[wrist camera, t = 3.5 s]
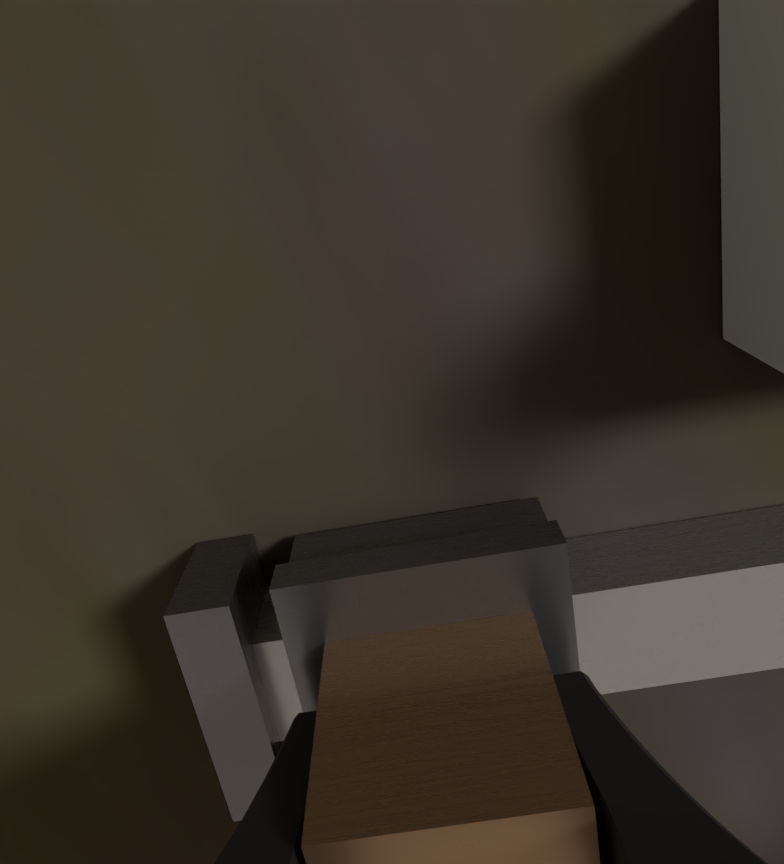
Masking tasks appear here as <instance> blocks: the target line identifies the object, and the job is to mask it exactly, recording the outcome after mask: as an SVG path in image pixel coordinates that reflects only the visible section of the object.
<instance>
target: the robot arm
mask: <svg viewBox="0 0 784 864" xmlns="http://www.w3.org/2000/svg"><path fill="white" fill-rule="evenodd" d="M553 678H554V681H555V684H556V687H557V690H558V693H559V696H560V699H561V703H562V706H563V709H564V712H565V715H566V718H567V721H568V724H569V728H570V731H571V734H572V737H573V740H574V743H575V746H576V749H577V753H578V756H579V759H580V762H581V765H582V768H583V771H584V774H585V778H586V781H587V784H588V787H589V790H590V793H591V796H592V799H593V803H594V806H595V815H596V825H597V835H598V845H599V855H600V864H768V863H766V862H765V861H764V860H763V859H761V858H760V857H759V856H758V855H756V854H755V853H754V852H753V851H751V850H750V849H749V848H748V847H747V846H746V845H744V844H743V843H742V842H741V841H740V840H739V839H737V838H736V837H735V836H734V835H733V834H732V833H730V832H729V831H728V830H727V829H726V828H725V827H724V826H722V825H721V824H720V823H719V822H718V821H717V820H716V819H715V818H714V817H713V816H711V815H710V814H709V813H708V812H707V811H706V810H705V809H704V808H703V807H702V806H701V805H700V804H699V803H698V802H697V801H696V800H695V799H694V798H693V797H692V796H691V795H690V794H689V793H687V792H686V791H685V790H684V789H683V788H682V787H681V786H680V785H679V784H678V783H677V782H676V781H675V780H674V779H673V778H672V776H671V775H670V774H669V773H668V772H667V771H666V770H665V769H664V768H663V767H662V766H661V765H660V764H659V763H658V762H657V761H656V759H655V758H654V757H653V756H652V755H651V754H650V753H649V752H648V751H647V750H646V748H645V747H644V746H643V745H642V744H641V743H640V742H639V741H638V740H637V739H636V737H635V736H634V735H633V734H632V733H631V732H630V730H629V729H628V728H627V727H626V726H625V724H624V723H623V722H622V721H621V720H620V718H619V717H618V716H617V715H616V713H615V712H614V711H613V710H612V708H611V707H610V706H609V705H608V703H607V702H606V701H605V699H604V698H603V697H602V695H601V694H600V693H599V691H598V690H597V688H596V687H595V686H594V684H593V683H592V681H591V680H590V678H589V677H588V675H586V674H585V673H583V672H582V671H577V672H570V673H564V674H557V675H553ZM316 713H317V710H315V711H309V712H302V713H298V714H297V716H296V717H295V718H294V720H293V722H292V724H291V726H290V728H289V730H288V733H287V735H286V737H285V739H284V741H283V743H282V745H281V747H280V749H279V751H278V753H277V755H276V757H275V759H274V761H273V763H272V765H271V767H270V769H269V771H268V773H267V775H266V777H265V779H264V781H263V782H262V784H261V786H260V788H259V790H258V791H257V793H256V795H255V797H254V799H253V800H252V802H251V804H250V806H249V808H248V810H247V811H246V813H245V815H244V817H243V818H242V820H241V822H240V824H239V825H238V827H237V829H236V830H235V832H234V833H233V835H232V837H231V838H230V840H229V841H228V843H227V845H226V846H225V848H224V849H223V851H222V853H221V854H220V856H219V857H218V859H217V861H216V862H215V864H306V862H305V858H304V855H303V852H302V848H301V842H302V834H303V825H304V817H305V808H306V799H307V791H308V782H309V774H310V765H311V756H312V748H313V739H314V731H315V722H316Z"/></svg>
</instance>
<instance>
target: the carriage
mask: <svg viewBox="0 0 784 864" xmlns="http://www.w3.org/2000/svg"><path fill="white" fill-rule="evenodd" d="M269 592H270V595H271V599H272V602H273V606H274V610H275V613H276V617H277V621H278V624H279V628H280V631H281V635H282V639H283V642H284V646H285V650H286V653H287V657H288V660H289V664H290V668H291V671H292V675H293V679H294V682H295V686H296V689H297V693H298V697H299V700H300V704H301V708H302V711H303V712H309V711H315V710H317V713H316V722H315V731H314V739H313V748H312V756H311V765H310V774H309V782H308V791H307V799H306V808H305V817H304V825H303V834H302V842H301V848H302V852H303V855H304V858H305V862H306V864H600V855H599V845H598V835H597V825H596V815H595V806H594V803H593V799H592V796H591V793H590V790H589V787H588V784H587V781H586V778H585V774H584V771H583V768H582V765H581V762H580V759H579V756H578V753H577V749H576V746H575V743H574V740H573V737H572V734H571V731H570V728H569V724H568V721H567V718H566V715H565V712H564V709H563V706H562V703H561V699H560V696H559V693H558V690H557V687H556V684H555V681H554V678H553V675H557V674H564V673H570V672H577V671H580V667H579V657H578V647H577V638H576V628H575V618H574V608H573V598H572V589H571V579H570V569H569V559H568V549H567V542H566V540H565V538H564V536H563V534H562V531H561V529H560V527H559V525H558V523H557V521H556V520H554V521H547V518H546V516H545V514H544V512H543V509H542V507H541V505H540V502H539V500H538V498H537V497H535V498H528V499H522V500H516V501H510V502H504V503H497V504H491V505H485V506H479V507H473V508H466V509H460V510H454V511H448V512H442V513H435V514H429V515H423V516H417V517H411V518H404V519H398V520H392V521H386V522H380V523H373V524H367V525H361V526H355V527H348V528H342V529H336V530H330V531H324V532H317V533H311V534H305V535H299V536H295V538H294V542H293V546H292V551H291V555H290V560H289V563H284V564H278V565H275V569H274V573H273V577H272V581H271V585H270V589H269Z"/></svg>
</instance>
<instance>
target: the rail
mask: <svg viewBox="0 0 784 864" xmlns="http://www.w3.org/2000/svg"><path fill="white" fill-rule="evenodd" d="M565 540H566V542H567V549H568V559H569V569H570V579H571V589H572V598H573V608H574V618H575V628H576V638H577V647H578V657H579V667H580V671H582V672H583V673H585V674H586V675H588V677H589V678H590V680H591V681H592V683H593V684H594V686H595V687H596V688H597V690H598V691H599V693H600V694H607V693H613V692H620V691H627V690H634V689H641V688H647V687H654V686H661V685H668V684H675V683H682V682H688V681H695V680H702V679H709V678H716V677H722V676H729V675H736V674H743V673H750V672H757V671H763V670H770V669H777V668H784V505H779V506H772V507H766V508H760V509H753V510H747V511H741V512H734V513H728V514H722V515H715V516H709V517H703V518H696V519H690V520H684V521H677V522H671V523H665V524H658V525H652V526H646V527H639V528H633V529H627V530H620V531H614V532H608V533H601V534H595V535H589V536H582V537H576V538H570V539H565ZM269 589H270V586H267V583H266V580H265V576H264V572H263V569H262V565H261V562H260V558H259V554H258V551H257V547H256V543H255V540H254V536H253V534H249V535H243V536H237V537H231V538H225V539H219V540H212V541H206V542H200V543H197V544H196V547H195V549H194V551H193V553H192V555H191V557H190V560H189V562H188V564H187V566H186V568H185V570H184V572H183V575H182V577H181V579H180V581H179V583H178V585H177V588H176V590H175V592H174V594H173V596H172V598H171V600H170V603H169V605H168V607H167V609H166V611H165V613H164V615H163V618H164V620H165V623H166V626H167V629H168V632H169V635H170V638H171V641H172V644H173V647H174V650H175V653H176V656H177V659H178V661H179V664H180V667H181V670H182V673H183V676H184V679H185V682H186V685H187V688H188V691H189V694H190V697H191V699H192V702H193V705H194V708H195V711H196V714H197V717H198V720H199V723H200V726H201V729H202V732H203V735H204V737H205V740H206V743H207V746H208V749H209V752H210V755H211V758H212V761H213V764H214V767H215V770H216V773H217V776H218V778H219V781H220V784H221V787H222V790H223V793H224V796H225V799H226V802H227V805H228V808H229V811H230V814H231V816H232V819H233V822H234V821H241V820H242V818H243V817H244V815H245V813H246V811H247V810H248V808H249V806H250V804H251V802H252V800H253V799H254V797H255V795H256V793H257V791H258V790H259V788H260V786H261V784H262V782H263V781H264V779H265V777H266V775H267V773H268V771H269V769H270V767H271V765H272V763H273V761H274V759H275V757H276V755H277V753H278V751H279V749H280V747H281V745H282V743H283V741H284V739H285V737H286V735H287V733H288V730H289V728H290V726H291V724H292V722H293V720H294V718H295V717H296V716H297V714H298V713H302V712H303V711H302V708H301V704H300V700H299V697H298V693H297V689H296V686H295V682H294V679H293V675H292V671H291V668H290V664H289V660H288V657H287V653H286V650H285V646H284V642H283V639H282V635H281V631H280V628H279V624H278V621H277V617H276V613H275V610H274V606H273V602H272V599H271V595H270V592H269Z"/></svg>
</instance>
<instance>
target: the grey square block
mask: <svg viewBox="0 0 784 864" xmlns="http://www.w3.org/2000/svg"><path fill="white" fill-rule="evenodd" d="M719 66H720V142H721V218H722V294H723V339H724V340H726V341H728V342H730V343H731V344H733V345H735V346H736V347H738V348H740V349H742V350H743V351H745V352H747V353H749V354H750V355H752V356H754V357H756V358H757V359H759V360H761V361H763V362H764V363H766V364H768V365H770V366H771V367H773V368H775V369H777V370H778V371H780V372H782V373H784V0H719Z"/></svg>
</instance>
